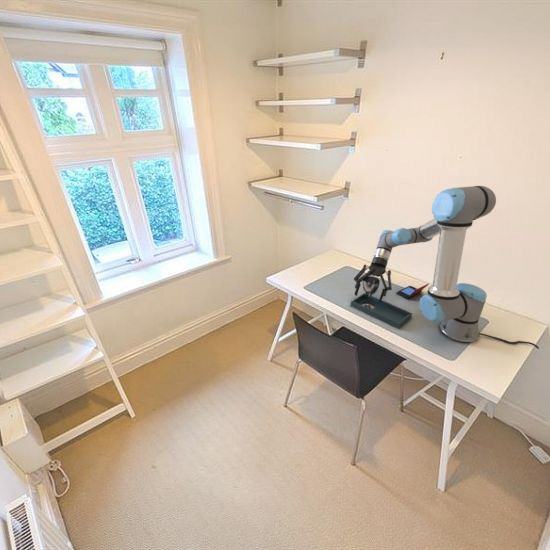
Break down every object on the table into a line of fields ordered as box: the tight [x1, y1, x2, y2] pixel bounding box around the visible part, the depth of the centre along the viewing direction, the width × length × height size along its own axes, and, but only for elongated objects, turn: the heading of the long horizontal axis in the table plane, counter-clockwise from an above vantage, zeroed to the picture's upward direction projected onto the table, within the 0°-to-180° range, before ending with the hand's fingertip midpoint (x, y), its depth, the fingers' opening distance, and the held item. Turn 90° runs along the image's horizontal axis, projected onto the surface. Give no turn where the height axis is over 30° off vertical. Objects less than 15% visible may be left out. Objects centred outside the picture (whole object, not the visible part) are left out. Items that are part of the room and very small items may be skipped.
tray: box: [350, 292, 413, 329], centre depth 156 cm, size 27×12×3 cm, turn 42°
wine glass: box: [361, 275, 381, 309], centre depth 157 cm, size 8×8×15 cm
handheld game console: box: [396, 283, 430, 300], centre depth 169 cm, size 12×11×7 cm
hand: (367, 298), depth 156 cm, fingers open, 12 cm apart
